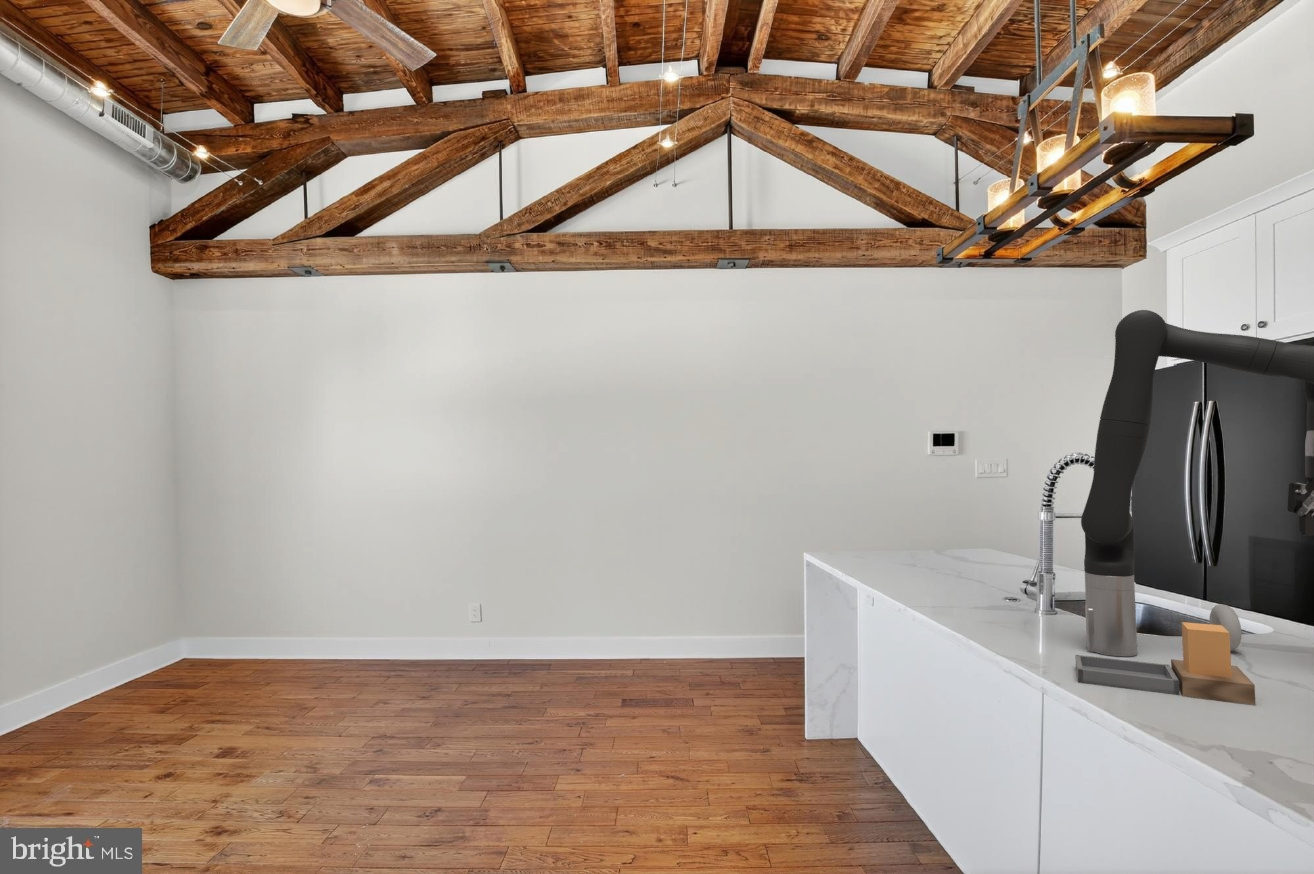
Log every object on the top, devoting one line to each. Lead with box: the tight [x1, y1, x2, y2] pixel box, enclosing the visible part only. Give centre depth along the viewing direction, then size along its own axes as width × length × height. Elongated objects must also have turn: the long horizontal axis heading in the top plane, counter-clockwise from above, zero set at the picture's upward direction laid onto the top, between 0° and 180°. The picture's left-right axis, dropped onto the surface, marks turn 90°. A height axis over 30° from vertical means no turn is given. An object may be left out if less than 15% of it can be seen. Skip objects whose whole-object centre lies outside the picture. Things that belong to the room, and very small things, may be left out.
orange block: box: [1181, 621, 1232, 678], centre depth 125 cm, size 6×6×8 cm
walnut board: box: [1170, 658, 1256, 706], centre depth 125 cm, size 10×12×4 cm
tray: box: [1074, 654, 1181, 696], centre depth 131 cm, size 16×11×2 cm
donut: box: [1208, 603, 1242, 652], centre depth 150 cm, size 10×4×10 cm, turn 158°
